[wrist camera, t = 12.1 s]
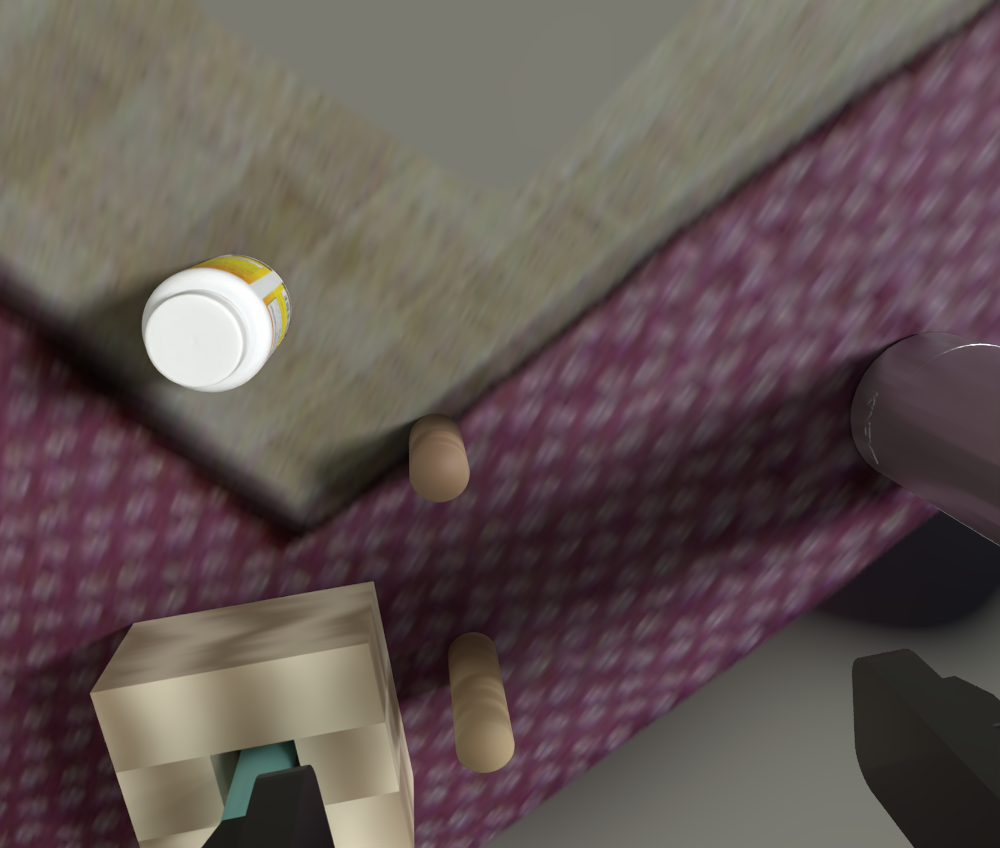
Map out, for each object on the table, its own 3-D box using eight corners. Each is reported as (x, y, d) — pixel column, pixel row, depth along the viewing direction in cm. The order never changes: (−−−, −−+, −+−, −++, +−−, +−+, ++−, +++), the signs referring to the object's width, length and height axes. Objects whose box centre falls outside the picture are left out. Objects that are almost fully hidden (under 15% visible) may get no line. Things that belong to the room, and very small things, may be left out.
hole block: (373, 580, 49) (368, 643, 43) (413, 777, 53) (414, 861, 47) (133, 623, 48) (89, 693, 42) (192, 819, 52) (161, 912, 46)
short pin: (457, 409, 47) (464, 440, 41) (465, 459, 48) (473, 496, 42) (404, 418, 47) (404, 450, 41) (413, 468, 48) (414, 506, 42)
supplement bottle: (163, 290, 44) (93, 320, 34) (252, 232, 43) (207, 246, 34) (228, 378, 45) (179, 431, 35) (314, 323, 45) (289, 361, 35)
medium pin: (492, 628, 51) (510, 717, 42) (499, 670, 52) (518, 766, 43) (444, 637, 51) (451, 728, 42) (451, 679, 52) (461, 777, 43)
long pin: (300, 677, 51) (262, 853, 37) (310, 719, 51) (277, 906, 38) (250, 686, 50) (194, 867, 37) (262, 728, 51) (210, 919, 38)
